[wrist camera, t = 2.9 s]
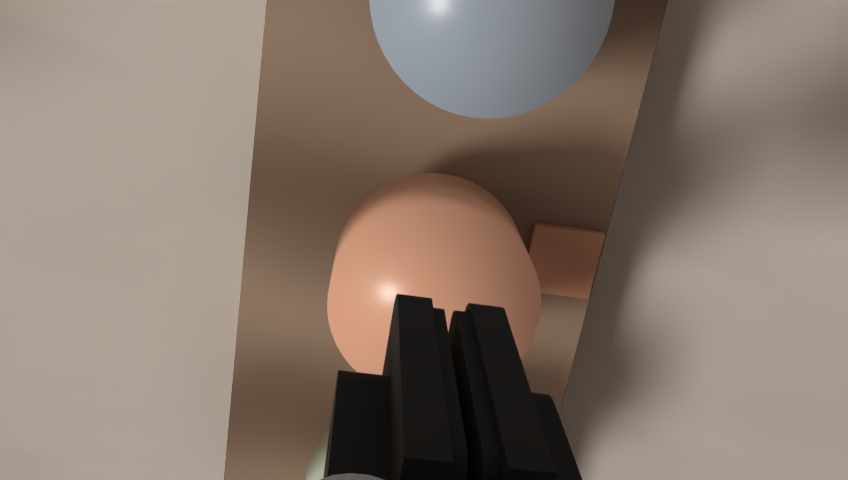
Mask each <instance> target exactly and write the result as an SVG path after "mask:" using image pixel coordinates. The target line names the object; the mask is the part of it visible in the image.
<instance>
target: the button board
mask: <svg viewBox="0 0 848 480" xmlns="http://www.w3.org/2000/svg"><path fill="white" fill-rule="evenodd" d="M667 1H668V0H615V2H614V8H613V13H612V18H611V21H610V25H609V28H608V31H607V34H606V36H605V38H604V41H603V43H602V45H601V47H600V49H599V51H598V53H597V54H596V56H595V58H594V59H593V61H592V62H591V64H590V65H589V66H588V68H587V69H586V70H585V72H584V73H583V74H582V75H581V76H580V77H579V78H578V79H577V80H576V81H575V82H574V83H573V84H572V85H571V86H570V87H569V88H568V89H567V90H565V91H564V92H563V93H562V94H560V95H559V96H558V97H556V98H555V99H553V100H551V101H550V102H548V103H546V104H545V105H542V106H540V107H538V108H536V109H534V110H531V111H529V112H525V113H522V114H519V115H515V116H510V117H504V118H489V119H484V118H472V117H467V116H462V115H458V114H454V113H451V112H449V111H446V110H443V109H441V108H439V107H437V106H435V105H433V104H431V103H429V102H427V101H426V100H425V99H423V98H422V97H420V96H419V95H418V94H416V93H415V92H414V91H413V90H412V89H410V88H409V87H408V86H407V85H406V84H405V83H404V82H403V81H402V80H401V78H400V77H399V76H398V75H397V74H396V72H395V71H394V70H393V69H392V67H391V65H390V64H389V62H388V61H387V59H386V57H385V56H384V54H383V51H382V49H381V47H380V45H379V43H378V40H377V37H376V34H375V31H374V28H373V24H372V18H371V13H370V4H369V0H267V4H266V15H265V26H264V37H263V48H262V60H261V71H260V82H259V93H258V104H257V115H256V127H255V138H254V149H253V160H252V171H251V183H250V194H249V205H248V216H247V227H246V238H245V250H244V261H243V272H242V283H241V294H240V306H239V317H238V328H237V339H236V350H235V361H234V373H233V384H232V395H231V406H230V417H229V429H228V440H227V451H226V462H225V473H224V480H305V477H306V471H307V466H308V462H309V459H310V456H311V454H312V452H313V450H314V448H315V446H316V445H317V443H318V442H319V441H320V439H321V438H322V437H323V436H324V435H325V434H326V433H327V432H328V431H329V429H330V422H331V415H332V408H333V401H334V394H335V387H336V380H337V374H338V370H343V371H351V372H356V371H355V370H354V369H353V368H352V367H351V366H350V365H349V363H348V362H347V361H346V359H345V358H344V357H343V355H342V354H341V352H340V350H339V349H338V347H337V345H336V343H335V341H334V338H333V336H332V333H331V330H330V325H329V321H328V312H327V299H328V290H329V285H330V279H331V274H332V269H333V264H334V258H335V253H336V248H337V243H338V239H339V236H340V233H341V230H342V228H343V226H344V224H345V222H346V220H347V218H348V217H349V215H350V214H351V213H352V211H353V210H354V208H355V207H356V206H357V205H358V204H359V203H360V202H361V201H362V200H363V199H364V198H365V197H366V196H368V195H369V194H370V193H371V192H373V191H374V190H376V189H377V188H379V187H381V186H382V185H384V184H386V183H388V182H391V181H393V180H395V179H398V178H401V177H405V176H409V175H414V174H421V173H439V174H447V175H452V176H457V177H460V178H463V179H466V180H468V181H471V182H473V183H475V184H477V185H479V186H481V187H482V188H484V189H485V190H486V191H488V192H489V193H491V194H492V195H493V196H494V197H495V198H496V199H497V200H498V201H499V202H500V203H501V204H502V205H503V206H504V207H505V209H506V210H507V211H508V213H509V214H510V216H511V218H512V219H513V221H514V223H515V225H516V228H517V230H518V232H519V234H520V236H521V239H522V241H523V243H524V245H525V248H526V250H527V252H528V254H529V256H530V259H531V261H532V263H533V265H534V268H535V270H536V273H537V276H538V280H539V284H540V291H541V312H540V318H539V323H538V326H537V329H536V332H535V335H534V337H533V339H532V341H531V343H530V346H529V347H528V349H527V350H526V352H525V353H524V355H523V356H522V358H521V362H522V365H523V368H524V371H525V374H526V377H527V380H528V383H529V386H530V390H531V392H532V393H541V394H548V395H550V396H551V397H552V399H553V401H554V404H555V406H556V409H557V412H558V415H559V414H560V410H561V406H562V402H563V398H564V394H565V391H566V387H567V383H568V379H569V375H570V372H571V368H572V364H573V360H574V356H575V352H576V349H577V345H578V341H579V337H580V333H581V330H582V326H583V322H584V318H585V314H586V310H587V307H588V303H589V299H590V295H591V291H592V288H593V284H594V280H595V276H596V272H597V268H598V265H599V261H600V257H601V253H602V249H603V246H604V242H605V238H606V234H607V230H608V226H609V223H610V219H611V215H612V211H613V207H614V204H615V200H616V196H617V192H618V188H619V184H620V181H621V177H622V173H623V169H624V165H625V162H626V158H627V154H628V150H629V146H630V143H631V139H632V135H633V131H634V127H635V123H636V120H637V116H638V112H639V108H640V104H641V101H642V97H643V93H644V89H645V85H646V81H647V78H648V74H649V70H650V66H651V62H652V59H653V55H654V51H655V47H656V43H657V39H658V36H659V32H660V28H661V24H662V20H663V17H664V13H665V9H666V5H667Z"/></svg>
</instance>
